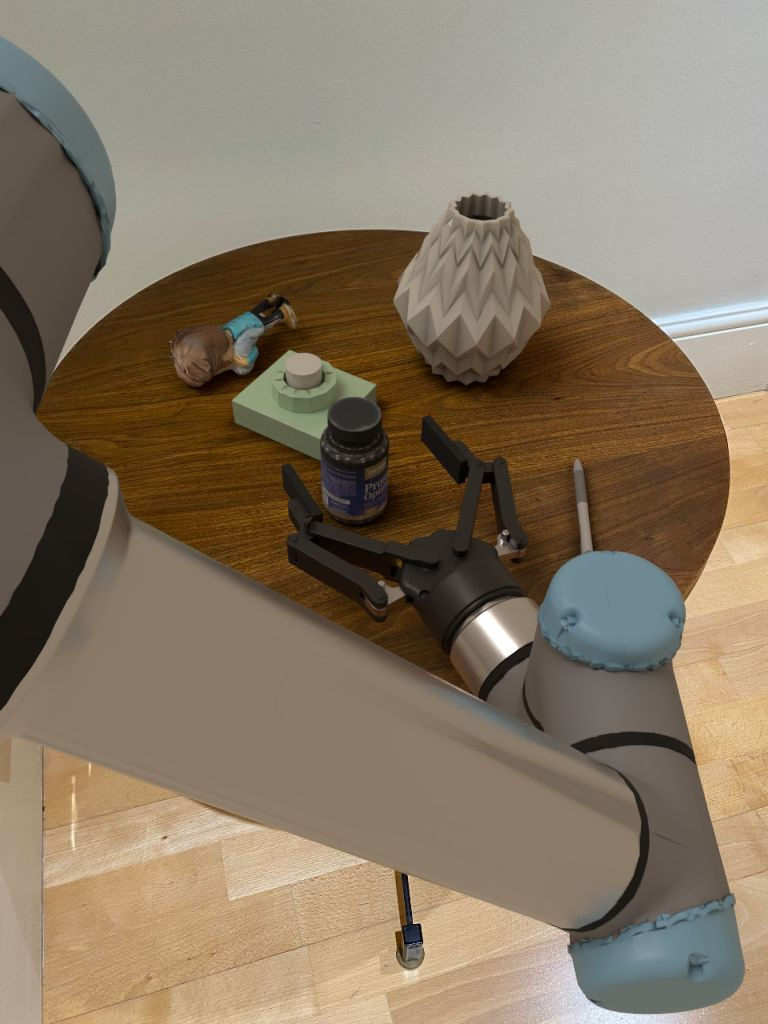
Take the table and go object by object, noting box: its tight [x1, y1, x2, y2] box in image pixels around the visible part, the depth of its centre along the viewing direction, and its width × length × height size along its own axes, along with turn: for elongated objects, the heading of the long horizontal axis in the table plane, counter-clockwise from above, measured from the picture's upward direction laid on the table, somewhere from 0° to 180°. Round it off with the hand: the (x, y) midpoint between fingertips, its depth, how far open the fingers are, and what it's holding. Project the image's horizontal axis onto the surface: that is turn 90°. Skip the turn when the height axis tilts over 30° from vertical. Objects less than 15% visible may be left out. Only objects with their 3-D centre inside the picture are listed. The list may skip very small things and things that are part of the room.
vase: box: [393, 191, 551, 386], centre depth 91 cm, size 16×16×18 cm
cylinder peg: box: [285, 352, 322, 390], centre depth 87 cm, size 4×4×2 cm
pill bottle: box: [320, 397, 390, 525], centre depth 78 cm, size 6×6×11 cm
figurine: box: [167, 292, 298, 388], centre depth 95 cm, size 8×16×6 cm, turn 134°
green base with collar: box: [231, 349, 378, 462], centre depth 89 cm, size 11×10×5 cm
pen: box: [573, 458, 594, 555], centre depth 81 cm, size 1×14×1 cm, turn 176°
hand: (357, 450), depth 76 cm, fingers open, 13 cm apart
